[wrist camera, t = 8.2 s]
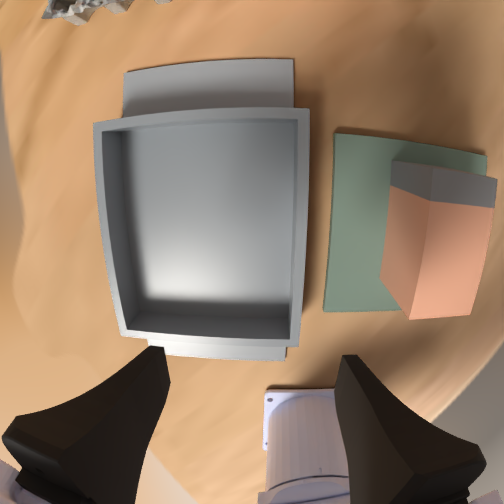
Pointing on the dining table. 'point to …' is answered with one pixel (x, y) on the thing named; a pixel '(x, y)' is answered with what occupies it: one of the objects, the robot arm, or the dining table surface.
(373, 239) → the mat
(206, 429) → the dining table surface
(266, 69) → the grey tray
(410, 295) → the block
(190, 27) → the dining table surface
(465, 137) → the dining table surface
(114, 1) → the egg carton
